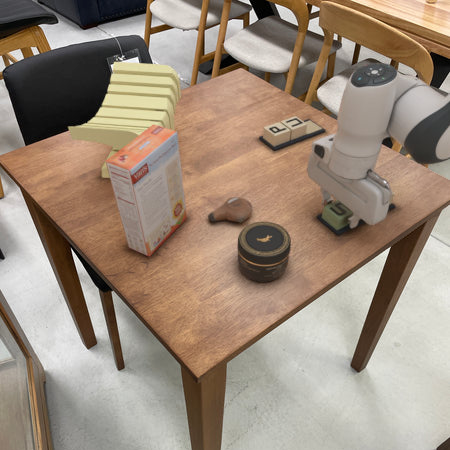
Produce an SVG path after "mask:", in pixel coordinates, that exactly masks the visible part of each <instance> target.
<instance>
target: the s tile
mask: <svg viewBox="0 0 450 450" xmlns="http://www.w3.org/2000/svg"><path fill="white" fill-rule="evenodd" d="M321 214H322V218H323V219H324V220H325V221H326V222H328V223H329V224H330V225H331V226H332V227H333V228H335V229H336V230H339V229H341V228H343V227H345V226H347V224H346V223H347V220H348V218H350V217H352V216H353V214H354V213H353V212H352V211H351V210H350V209H348V208H347V207H346V206H345V205H343V204H342V203H341V202H339V201H338V200H337V199H336V200H335V201H333V202H332V203H331V204H329V205H326V206H323V208H322V213H321Z"/></svg>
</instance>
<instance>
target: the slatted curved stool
mask: <svg viewBox="0 0 450 450" xmlns="http://www.w3.org/2000/svg"><path fill="white" fill-rule="evenodd" d="M110 75H111V76H110V79H109V84H108V87H107V90H106V91H107V93H106V94H105V95H104V96H105V97H104V99H103V101H102V103H101V106H100V107H99V109H98V111H97V112H96V114H95V115H94V117H92V118H91V119H90V120H88V121H87V123H86V122H85V123H83V124H81V125H75V126H67V128H68V131H69V135H70V138H71V141H72V140H73V141H81V142H89V143H90V142H91V143H95V144H96V143H97V144H101V145H104V146H105V145H106V146H110V147H112V149H111V150H110V152H109V154H108V156H107V157H106V159H105V161H104V163H103V165H102V166H101V178H105V179H110V176H109V173H108V169H107V165H106V160H108V159H109V158H110V157H112V156H113V155H114V154H115V153H117V152H118V151H119V150H121V149H122V148H123V147H125V146H126V145H127V144H129V143H130V142H131V141H132V140H134V139H135V138H136V137H138V136H139V135H140V134H141V133H143V132H144V131H145V130H147V129H148V128H149V127H151V126H152V125H153V124H154V125H157V126H160V127H164V128H167V129H170V130H174V131H176V127H175V126H176V121H175V120H176V119H175V115H176V111H177V104H178V103H179V100H180V99H181V98H182V88H181V87H182V86H181V80H180V76H179V74H178V72H177V71H176V70H175V69H174V68H173V67H171V66H170V65H167V64H159V63H158V64H157V63H141V62H140V63H139V62H127V61H124V62H123V61H114V62H113V66H112V73H111V74H110Z"/></svg>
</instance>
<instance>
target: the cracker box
mask: <svg viewBox="0 0 450 450" xmlns="http://www.w3.org/2000/svg"><path fill="white" fill-rule="evenodd" d="M105 162H106V165H107V169H108V173H109V176H110V178H109V180H110V184H111V187H112V191H113V195H114V198H115V202H116V206H117V209H118V210H117V211H118V214H119V217H120V221H121V226H122V229H123V232H124V237H125V240H126V245H127V247H128V249H130V250H133V251H135V252H137V253H139V254H142V255H144V256H146V257H151V256H152V255H153V254H154V253H155V252H156V251H157V250H158V249H159V248H160V246H162V245H163V244H164V242H165V241H166V240H168V238H170V237H171V235H172V234H173V233H174V232H175V231H176V230H177V229H178V228H179V227H180V226H181V225H182V224H183V223H184V222H185V221H186V220H187V218H188V216H187V208H186V198H185V189H184V180H183V172H182V162H181V155H180V145H179V136H178V131H177V130H175V131H174V130H170V129H167V128H164V127H160V126H157V125H154V124H153V125H152V126H151V127H149V128H148V129H147V130H145V131H144V132H143V133H141V134H140V135H139V136H138V137H136V138H135V139H134V140H132V141H131V142H130V143H129V144H127V145H126V146H125V147H123V148H122V149H121V150H119V151H118V152H117V153H115V154H114V155H113V156H112V157H110V158H109V159H108V160H106V159H105Z"/></svg>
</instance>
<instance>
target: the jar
mask: <svg viewBox="0 0 450 450" xmlns="http://www.w3.org/2000/svg"><path fill="white" fill-rule="evenodd" d="M291 245H292V240H291V235H290V233H289V231H288V230H287V229H285V227H283V226H281V225H280V224H278V223H275V222H271V221H255V222H252V223H250V224H246V226H244V227H243V228H242V229H241V230H240V232H239V234H238V238H237V246H236V247H237V263H238V267H239V270H240V271H241V273H242V274H243V275H244V276H245V277H246V278H247V279H249V280H251V281H254V282H257V283H269V282H272V281H275V280H277V279H279V278H280V277H281V276H282V275H283V274H284V273H285V271H286V269H287V267H288V264H289V258H290V254H291V249H292V248H291V247H292V246H291Z"/></svg>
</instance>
